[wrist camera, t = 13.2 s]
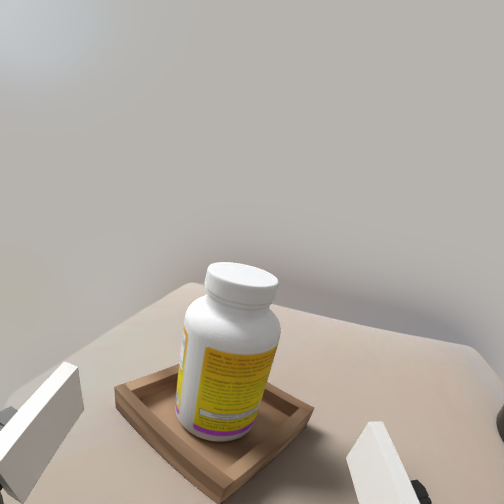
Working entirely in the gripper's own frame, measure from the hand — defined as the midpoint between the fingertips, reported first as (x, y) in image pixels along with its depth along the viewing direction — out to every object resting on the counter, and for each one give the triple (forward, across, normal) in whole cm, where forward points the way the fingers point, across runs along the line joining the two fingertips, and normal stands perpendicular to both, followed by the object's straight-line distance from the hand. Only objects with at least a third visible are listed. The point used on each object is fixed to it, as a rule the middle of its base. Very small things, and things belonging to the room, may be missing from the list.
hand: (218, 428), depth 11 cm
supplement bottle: (+9, 0, -9) cm, 13 cm away
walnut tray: (+10, 0, -10) cm, 14 cm away
